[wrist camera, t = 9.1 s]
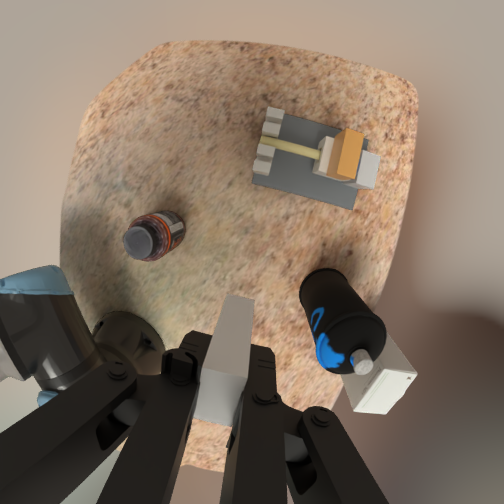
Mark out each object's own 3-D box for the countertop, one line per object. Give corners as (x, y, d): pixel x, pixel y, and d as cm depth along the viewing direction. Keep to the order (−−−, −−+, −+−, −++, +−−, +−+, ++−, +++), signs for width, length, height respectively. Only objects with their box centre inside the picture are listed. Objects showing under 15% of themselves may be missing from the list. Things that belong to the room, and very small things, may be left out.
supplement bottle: (169, 255, 42) (139, 278, 31) (144, 229, 41) (107, 243, 30) (194, 229, 40) (169, 244, 29) (167, 201, 40) (134, 207, 29)
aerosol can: (342, 260, 41) (399, 317, 21) (353, 306, 42) (403, 380, 23) (292, 277, 42) (314, 349, 22) (306, 322, 43) (330, 408, 24)
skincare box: (350, 311, 42) (385, 365, 27) (381, 321, 43) (421, 372, 28) (329, 351, 44) (350, 412, 29) (359, 359, 45) (387, 416, 29)
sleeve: (311, 174, 34) (327, 170, 25) (319, 139, 33) (337, 124, 24) (339, 183, 34) (363, 182, 25) (347, 148, 33) (372, 137, 24)
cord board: (252, 183, 39) (249, 181, 31) (269, 113, 36) (270, 95, 28) (349, 209, 39) (368, 214, 31) (365, 141, 36) (386, 132, 28)
